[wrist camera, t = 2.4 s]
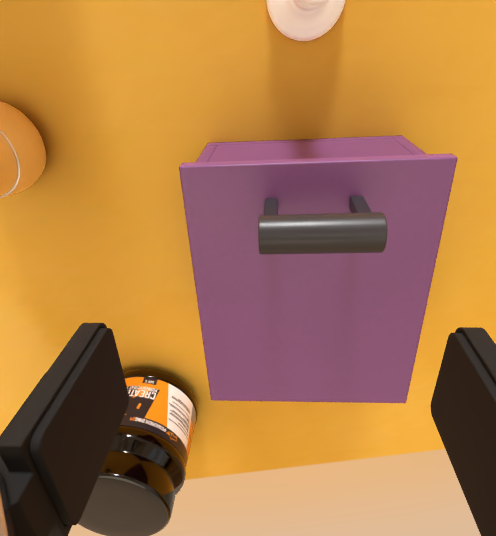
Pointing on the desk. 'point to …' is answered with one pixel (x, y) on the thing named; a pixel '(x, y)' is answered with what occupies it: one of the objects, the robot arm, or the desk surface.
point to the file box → (309, 149)
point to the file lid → (314, 272)
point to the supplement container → (144, 458)
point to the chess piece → (304, 17)
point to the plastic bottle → (19, 151)
